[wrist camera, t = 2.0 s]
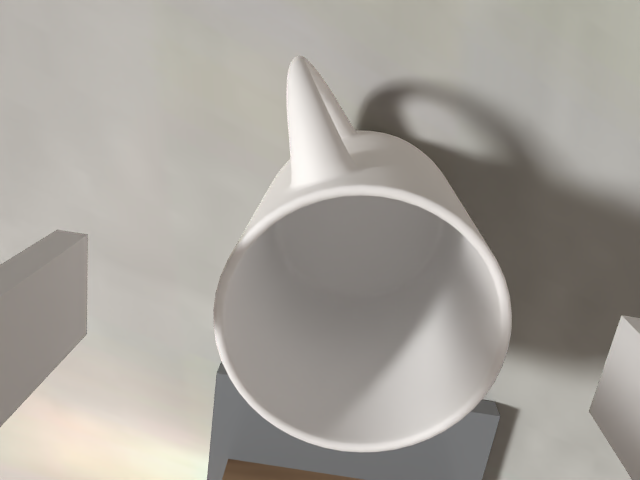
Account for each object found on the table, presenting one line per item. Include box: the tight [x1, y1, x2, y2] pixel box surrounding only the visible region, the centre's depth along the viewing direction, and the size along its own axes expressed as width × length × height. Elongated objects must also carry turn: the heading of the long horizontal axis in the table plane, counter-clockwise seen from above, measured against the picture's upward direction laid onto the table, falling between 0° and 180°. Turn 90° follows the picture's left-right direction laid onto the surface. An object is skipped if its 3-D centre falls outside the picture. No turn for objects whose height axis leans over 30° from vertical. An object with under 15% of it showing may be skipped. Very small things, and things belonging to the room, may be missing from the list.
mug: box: [213, 56, 512, 452], centre depth 21 cm, size 9×12×11 cm
